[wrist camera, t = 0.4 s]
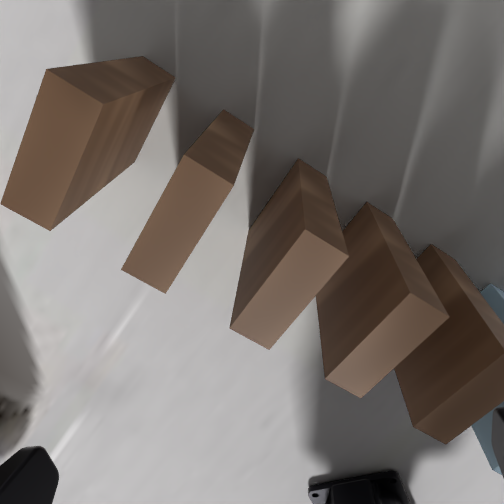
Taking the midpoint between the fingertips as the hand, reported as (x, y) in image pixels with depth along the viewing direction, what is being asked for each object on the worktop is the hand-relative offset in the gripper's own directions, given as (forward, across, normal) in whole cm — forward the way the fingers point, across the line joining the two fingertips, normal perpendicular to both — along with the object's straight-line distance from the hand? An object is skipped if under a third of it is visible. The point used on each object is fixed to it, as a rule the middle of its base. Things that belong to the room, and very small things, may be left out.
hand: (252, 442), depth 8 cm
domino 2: (+14, +2, -3) cm, 14 cm away
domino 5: (+14, -6, +6) cm, 16 cm away
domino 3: (+14, -1, 0) cm, 14 cm away
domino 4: (+14, -3, +3) cm, 14 cm away
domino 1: (+14, +5, -6) cm, 16 cm away
